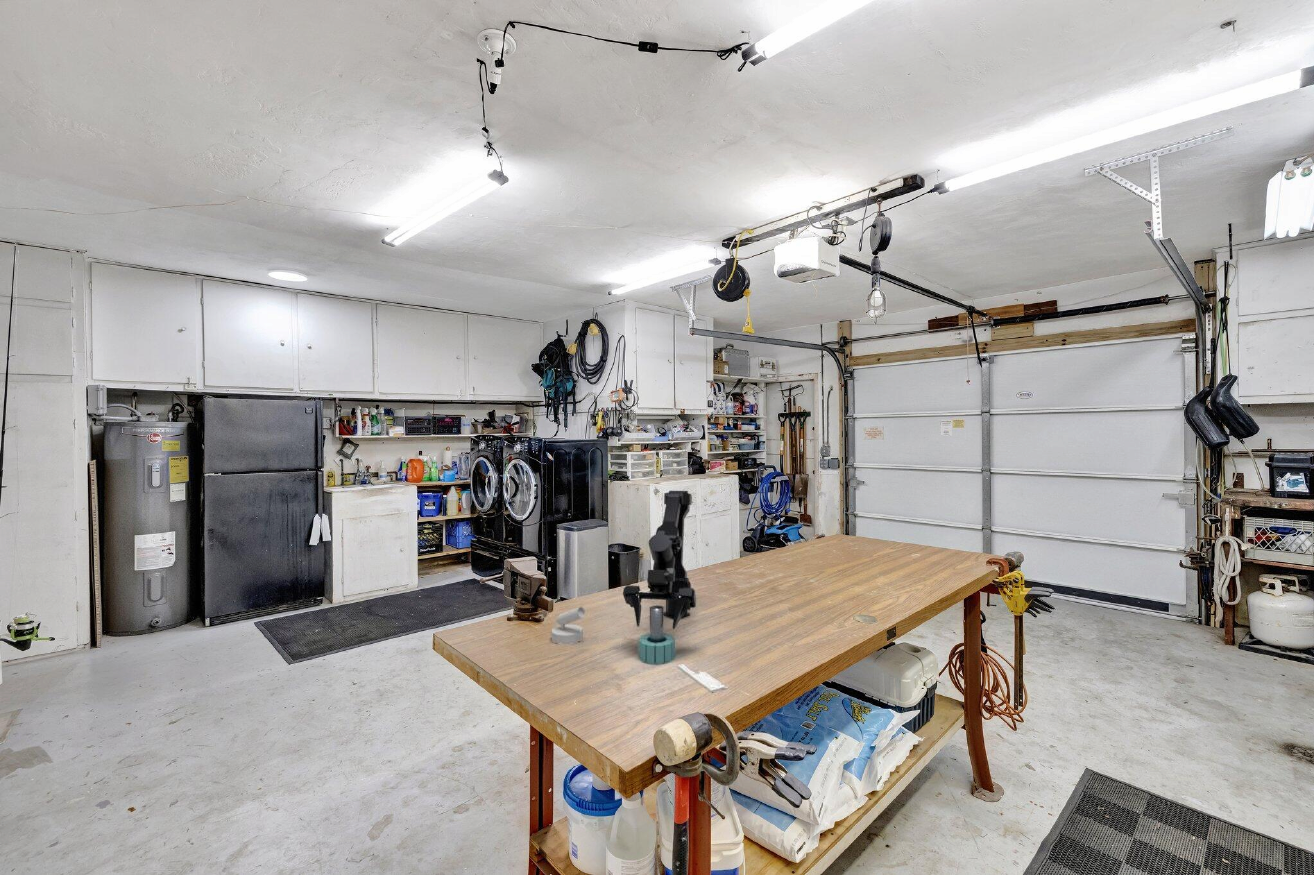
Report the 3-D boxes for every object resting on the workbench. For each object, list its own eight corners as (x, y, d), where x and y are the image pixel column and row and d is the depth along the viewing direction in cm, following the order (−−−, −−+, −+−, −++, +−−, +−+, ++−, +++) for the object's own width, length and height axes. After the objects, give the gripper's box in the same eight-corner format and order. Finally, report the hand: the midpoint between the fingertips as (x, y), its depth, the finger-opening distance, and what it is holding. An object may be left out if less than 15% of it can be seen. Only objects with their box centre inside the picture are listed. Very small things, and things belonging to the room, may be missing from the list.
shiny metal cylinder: (648, 655, 142) (647, 606, 142) (661, 653, 143) (660, 605, 143) (652, 660, 138) (652, 610, 138) (665, 658, 139) (665, 609, 139)
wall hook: (573, 612, 147) (544, 606, 152) (573, 647, 147) (545, 640, 152) (592, 603, 154) (565, 598, 159) (593, 637, 154) (565, 631, 159)
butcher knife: (695, 664, 136) (695, 660, 136) (730, 690, 123) (730, 685, 123) (677, 668, 134) (677, 663, 134) (710, 694, 121) (711, 689, 121)
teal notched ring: (632, 655, 141) (631, 638, 141) (659, 647, 147) (659, 630, 147) (654, 667, 134) (654, 648, 134) (681, 657, 140) (681, 639, 140)
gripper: (624, 554, 146) (613, 609, 135) (694, 557, 142) (689, 613, 132) (631, 577, 154) (621, 630, 143) (698, 579, 150) (693, 634, 140)
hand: (655, 627), depth 139 cm, fingers open, 9 cm apart
